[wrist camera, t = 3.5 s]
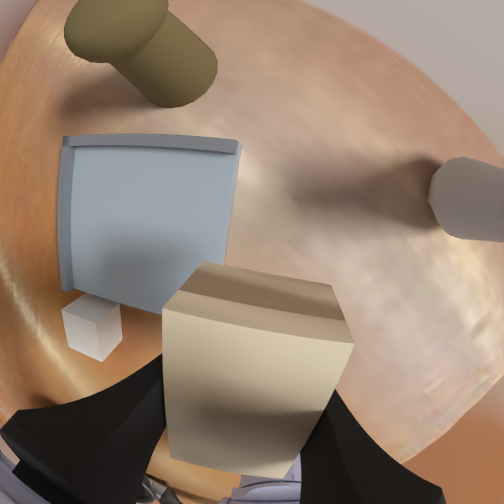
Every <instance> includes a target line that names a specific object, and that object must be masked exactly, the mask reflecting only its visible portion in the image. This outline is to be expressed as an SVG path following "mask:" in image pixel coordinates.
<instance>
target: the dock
mask: <svg viewBox="0 0 504 504" xmlns="http://www.w3.org/2000/svg"><path fill="white" fill-rule="evenodd" d="M241 147H242V145H241V144H240V143H239V142H238V141H236V140H231V139H222V138H212V137H200V136H186V135H168V134H93V135H76V136H63V142H62V149H61V158H60V167H59V179H58V197H57V240H58V258H59V271H60V281H61V289H62V291H65V292H69V291H71V290H72V289H74V288H75V289H78V290H81V291H83V292H86V293H89V294H92V295H95V296H98V297H102V298H105V299H108V300H111V301H114V302H118V303H121V304H124V305H128V306H131V307H134V308H138V309H142V310H145V311H149V312H152V313H156V314H160V315H162V308H163V307H164V306H165V304H166V303H167V302H168V301H169V300H170V299H171V297H172V296H173V295H174V294H175V293H176V292H177V290H178V289H179V288H180V287H181V286H182V285H183V284H184V282H185V281H186V280H187V279H188V278H189V277H190V276H191V274H192V273H193V272H194V271H195V270H196V269H197V268H198V266H199V265H200V264H201V263H202V262H203V261H205V262H210V263H215V264H220V265H224V262H225V255H226V247H227V240H228V233H229V226H230V219H231V212H232V205H233V198H234V192H235V185H236V178H237V172H238V166H239V159H240V153H241Z"/></svg>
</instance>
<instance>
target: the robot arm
mask: <svg viewBox="0 0 504 504" xmlns="http://www.w3.org/2000/svg"><path fill="white" fill-rule="evenodd" d="M166 426H167V424H166V412H165V399H164V382H163V355H162V353H161V354H160V355H159V356H158V357H156V358H155V359H154V360H152V361H151V362H149V363H148V364H147V365H145V366H144V367H142V368H141V369H139V370H138V371H136V372H135V373H133V374H132V375H130V376H128V377H127V378H125V379H123V380H122V381H120V382H118V383H116V384H115V385H113V386H111V387H109V388H107V389H105V390H103V391H100V392H98V393H96V394H93V395H91V396H88V397H85V398H82V399H79V400H76V401H73V402H70V403H66V404H62V405H57V406H52V407H46V408H38V409H26V410H18V411H17V412H16V413H15V414H14V415H13V416H12V417H11V418H10V419H9V420H8V422H7V423H6V424H5V425H4V426H3V427H2V428H1V429H0V434H1V436H2V438H3V439H4V441H5V442H6V443H7V445H8V446H9V447H10V448H11V450H12V451H13V452H14V453H15V454H16V456H17V457H18V458H19V459H20V461H19V463H18V464H17V465H15V464H14V463H13V462H12V461H10V460H9V459H8V458H7V457H6V456H5V455H4V454H3V453H2V452H1V450H0V504H136V501H137V497H138V494H139V491H140V488H141V485H142V482H143V479H144V476H145V473H146V470H147V467H148V464H149V462H150V459H151V456H152V454H153V451H154V449H155V447H156V445H157V443H158V441H159V439H160V437H161V435H162V433H163V431H164V429H165V428H166ZM217 504H446V501H445V497H444V494H443V491H442V489H441V487H439V486H437V485H434V484H432V483H430V482H428V481H426V480H424V479H422V478H420V477H419V476H417V475H416V474H414V473H412V472H411V471H409V470H408V469H406V468H405V467H403V466H402V465H401V464H399V463H398V462H397V461H396V460H394V459H393V458H392V457H391V456H389V455H388V454H387V453H386V452H385V451H384V450H383V449H382V448H381V447H380V446H379V445H378V444H377V443H376V442H375V441H374V440H373V439H372V438H371V437H370V436H369V435H368V434H367V433H366V432H365V430H364V429H363V428H362V427H361V425H360V424H359V423H358V422H357V420H356V419H355V418H354V416H353V415H352V413H351V412H350V411H349V409H348V408H347V406H346V405H345V403H344V402H343V400H342V399H341V397H340V396H339V394H338V392H337V391H336V389H334V391H333V393H332V395H331V397H330V399H329V401H328V403H327V405H326V407H325V409H324V411H323V413H322V415H321V416H320V418H319V420H318V422H317V424H316V426H315V427H314V429H313V431H312V433H311V434H310V436H309V438H308V440H307V441H306V443H305V445H304V446H303V448H302V450H301V451H300V453H299V454H298V456H297V458H296V459H295V461H294V462H293V464H292V465H291V467H290V468H289V470H288V471H287V473H286V474H285V476H284V477H283V479H279V478H268V477H259V476H252V475H245V474H241V480H240V486H239V488H233V490H232V496H231V497H224V498H222V499H221V500H220V501H219V502H218V503H217Z"/></svg>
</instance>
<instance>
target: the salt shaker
mask: <svg viewBox="0 0 504 504" xmlns="http://www.w3.org/2000/svg"><path fill="white" fill-rule="evenodd" d="M427 201H428V203H429V205H430V207H431V208H432V210H433V212H434V215H435V217H436V220H437V222H438V223H439V224H440V226H441V227H442V228H443V229H444V230H445V231H446V233H448V234H449V235H451V236H454V237H457V238H461V239H469V240H481V241H493V242H504V169H503V168H500V167H497V166H494V165H491V164H487V163H484V162H481V161H477V160H474V159H470V158H467V157H459V158H454V159H450V160H448V161H446V162H445V163H444V164H443V165H442V166H441V167H440V168H439V169H438V170H437V171H436V172H435V173H434V175H433V176H432V177H431V180H430V187H429V193H428V198H427Z"/></svg>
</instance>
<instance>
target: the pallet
mask: <svg viewBox="0 0 504 504" xmlns="http://www.w3.org/2000/svg"><path fill="white" fill-rule="evenodd" d="M354 344H355V343H354V340H353V338H352V335H351V333H350V330H349V328H348V325H347V323H346V320H345V318H344V315H343V313H342V310H341V308H340V306H339V303H338V301H337V298H336V296H335V294H334V291H333V289H332V287H331V285H328V284H322V283H317V282H311V281H305V280H300V279H294V278H289V277H283V276H278V275H272V274H267V273H262V272H256V271H251V270H246V269H241V268H235V267H230V266H225V265H220V264H215V263H210V262H205V261H203V262H202V263H201V264H200V265H199V266H198V268H197V269H196V270H195V271H194V272H193V273H192V274H191V276H190V277H189V278H188V279H187V280H186V281H185V282H184V284H183V285H182V286H181V287H180V288H179V289H178V290H177V292H176V293H175V294H174V295H173V296H172V297H171V299H170V300H169V301H168V302H167V303H166V304H165V306H164V307H163V308H162V355H163V382H164V399H165V412H166V424H167V434H168V443H169V451H170V458H174V459H177V460H180V461H184V462H188V463H191V464H195V465H199V466H203V467H208V468H212V469H217V470H222V471H227V472H232V473H238V474H245V475H252V476H259V477H268V478H279V479H283V477H284V476H285V474H286V473H287V471H288V470H289V468H290V467H291V465H292V464H293V462H294V461H295V459H296V458H297V456H298V454H299V453H300V451H301V450H302V448H303V446H304V445H305V443H306V441H307V440H308V438H309V436H310V434H311V433H312V431H313V429H314V427H315V426H316V424H317V422H318V420H319V418H320V416H321V415H322V413H323V411H324V409H325V407H326V405H327V403H328V401H329V399H330V397H331V395H332V393H333V391H334V389H335V387H336V385H337V383H338V381H339V379H340V377H341V374H342V372H343V370H344V368H345V366H346V363H347V361H348V359H349V356H350V354H351V352H352V349H353V347H354Z"/></svg>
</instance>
